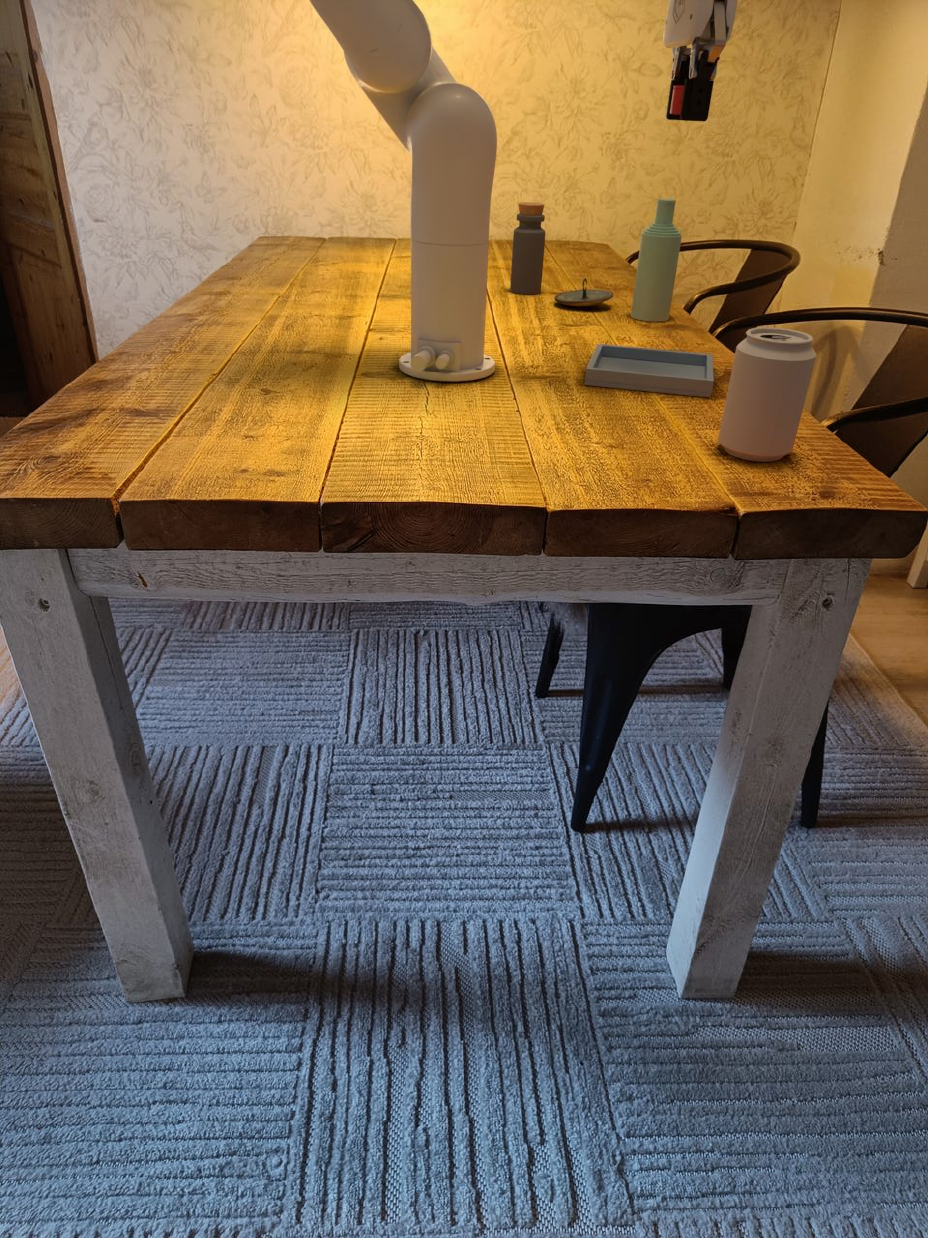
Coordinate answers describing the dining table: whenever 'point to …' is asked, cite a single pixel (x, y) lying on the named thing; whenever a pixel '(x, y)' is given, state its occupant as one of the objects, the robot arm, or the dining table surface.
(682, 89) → the cap
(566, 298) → the lid
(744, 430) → the can
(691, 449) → the dining table surface
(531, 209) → the bottle
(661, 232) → the water bottle
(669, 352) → the tray
